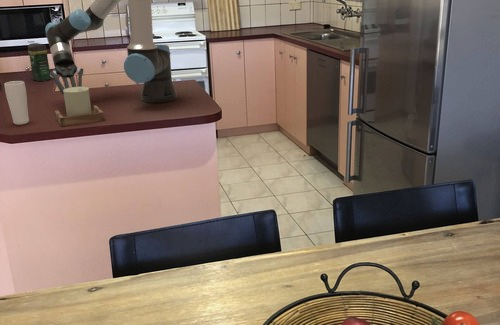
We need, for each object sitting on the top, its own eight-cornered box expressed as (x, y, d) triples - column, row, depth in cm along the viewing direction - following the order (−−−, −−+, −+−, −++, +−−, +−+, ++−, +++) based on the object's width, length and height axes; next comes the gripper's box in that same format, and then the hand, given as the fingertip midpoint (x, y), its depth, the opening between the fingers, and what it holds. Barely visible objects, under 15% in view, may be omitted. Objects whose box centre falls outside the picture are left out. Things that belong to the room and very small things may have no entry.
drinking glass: (25, 119, 195) (18, 80, 190) (34, 122, 191) (28, 82, 186) (8, 123, 191) (0, 83, 185) (17, 126, 186) (9, 85, 181)
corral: (55, 118, 196) (54, 110, 195) (96, 112, 203) (95, 105, 202) (61, 126, 186) (60, 118, 184) (104, 120, 192) (103, 112, 191)
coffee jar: (53, 79, 266) (48, 43, 260) (38, 82, 261) (32, 44, 255) (45, 77, 273) (39, 41, 266) (30, 79, 268) (24, 43, 261)
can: (79, 124, 188) (75, 91, 184) (61, 121, 192) (56, 89, 188) (98, 118, 195) (94, 86, 191) (80, 115, 200) (76, 84, 195)
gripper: (79, 61, 211) (93, 110, 203) (45, 64, 205) (58, 115, 197) (79, 50, 205) (94, 99, 197) (45, 52, 199) (58, 104, 191)
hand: (76, 107), depth 197 cm, fingers closed
